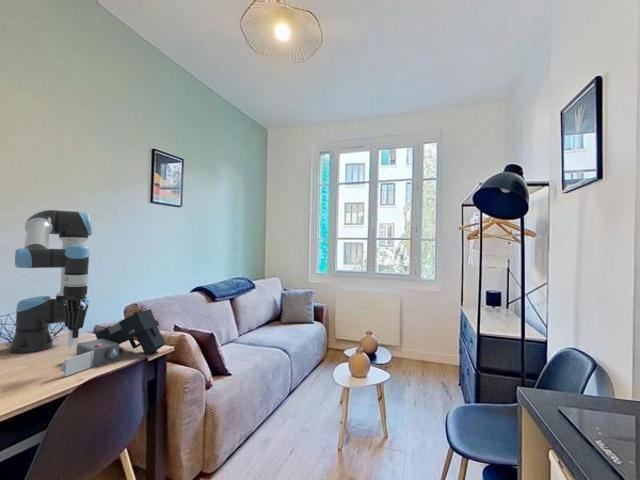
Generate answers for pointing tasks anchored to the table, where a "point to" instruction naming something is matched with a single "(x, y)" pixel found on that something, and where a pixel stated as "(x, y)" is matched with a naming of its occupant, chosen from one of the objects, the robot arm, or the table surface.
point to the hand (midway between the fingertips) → (72, 345)
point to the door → (77, 363)
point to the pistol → (135, 332)
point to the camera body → (100, 351)
